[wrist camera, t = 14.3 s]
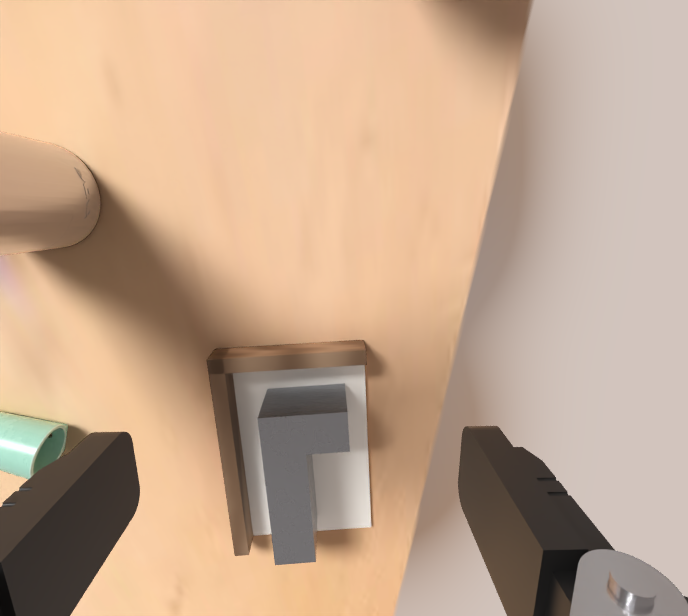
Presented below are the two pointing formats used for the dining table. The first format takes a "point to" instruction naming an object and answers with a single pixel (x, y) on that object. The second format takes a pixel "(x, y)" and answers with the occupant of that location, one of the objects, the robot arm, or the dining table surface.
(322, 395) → the bracket
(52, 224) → the robot arm
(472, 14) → the dining table surface
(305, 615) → the dining table surface
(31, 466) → the mint green cone
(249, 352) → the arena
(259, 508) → the mat
